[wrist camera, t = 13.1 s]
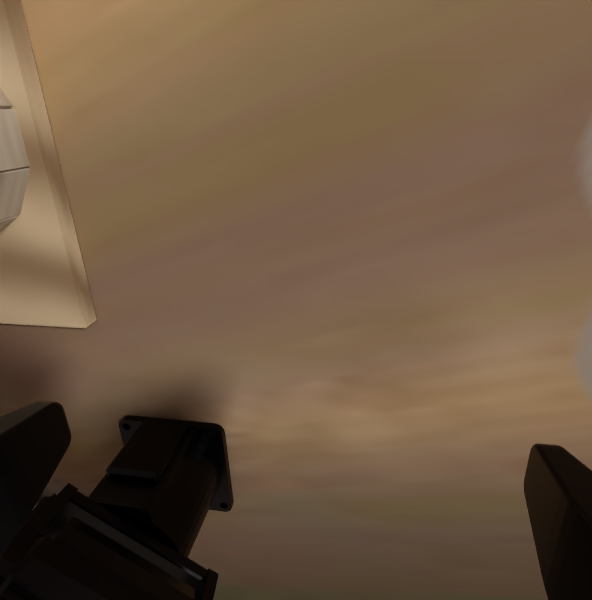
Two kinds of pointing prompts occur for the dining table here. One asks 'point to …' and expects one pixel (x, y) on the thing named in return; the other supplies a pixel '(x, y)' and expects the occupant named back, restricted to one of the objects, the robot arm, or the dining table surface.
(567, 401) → the dining table surface
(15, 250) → the lamp base
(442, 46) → the dining table surface
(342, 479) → the dining table surface
